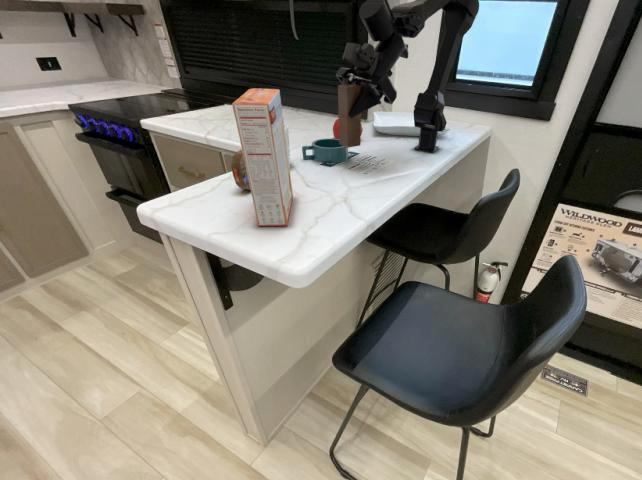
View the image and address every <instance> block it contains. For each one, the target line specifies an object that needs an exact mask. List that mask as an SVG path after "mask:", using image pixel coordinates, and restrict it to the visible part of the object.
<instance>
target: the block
mask: <svg viewBox="0 0 642 480" xmlns="http://www.w3.org/2000/svg"><path fill="white" fill-rule="evenodd" d="M360 89H361V86H357V85H353V84H346V85H343V84H337V96H338V97H337V102H338V105H337V106H338V116H339V117H338V119H339V144H341V145H343V146H345V147H347V148H348V149H349V148H355V147H360V146H361V141H362V140H361V137H362V135H361V125H362V113H360V114H358V115H357V116H355V117H353V118H350V117H349V112H350V110H351V108H352V107H353V105H354V103H355V101H356V99H357V98H358V96H359V94H360Z"/></svg>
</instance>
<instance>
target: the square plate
mask: <svg viewBox="0 0 642 480" xmlns="http://www.w3.org/2000/svg"><path fill="white" fill-rule="evenodd" d="M413 113H414V112H410V111H409V112H408V111H373V113H372V114H373V123H372V124H373V125H372V126H373V127H374V128H375V130H376V131H377V132H379V133H383V134H385V135H390V136H409V137H410V136H412V137H419V135H420V128H419V127H415V125H414V114H413ZM450 130H451V128H450V127H449V126H448V124H446V127H445V130H443V131H438V136H443V135H445V134H447V133H448V132H449V131H450Z"/></svg>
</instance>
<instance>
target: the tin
mask: <svg viewBox="0 0 642 480" xmlns="http://www.w3.org/2000/svg"><path fill="white" fill-rule="evenodd" d="M230 169H231V172H232V177H233V180H234V182H235V185H236V186H237V187H238V188H239V189H240V190H247V191H248V190H249V191H251V189H250V185H249V180H248V175H247V171H246V166H245V161H244V156H243V152H242V148H241V149H240V150H237V151H236V152H235V153H234V154H233V156H232V158H231V163H230Z"/></svg>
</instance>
